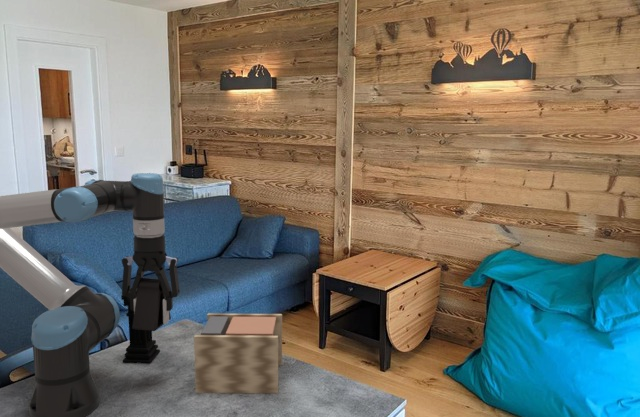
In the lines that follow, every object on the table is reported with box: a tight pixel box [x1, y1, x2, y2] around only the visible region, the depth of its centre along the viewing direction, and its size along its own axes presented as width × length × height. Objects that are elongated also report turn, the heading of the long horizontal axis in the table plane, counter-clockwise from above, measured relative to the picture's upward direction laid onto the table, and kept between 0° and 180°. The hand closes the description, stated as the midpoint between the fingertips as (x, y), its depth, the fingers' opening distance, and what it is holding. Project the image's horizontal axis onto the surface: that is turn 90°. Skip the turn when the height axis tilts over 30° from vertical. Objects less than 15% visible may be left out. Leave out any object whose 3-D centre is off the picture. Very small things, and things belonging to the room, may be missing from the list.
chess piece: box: [120, 287, 161, 365], centre depth 151 cm, size 8×8×20 cm
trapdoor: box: [200, 316, 276, 336], centre depth 139 cm, size 18×12×4 cm, turn 90°
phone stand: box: [132, 277, 172, 332], centre depth 133 cm, size 9×6×12 cm, turn 168°
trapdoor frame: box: [193, 312, 283, 394], centre depth 140 cm, size 21×17×15 cm
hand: (152, 321), depth 134 cm, fingers closed on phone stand, 7 cm apart
